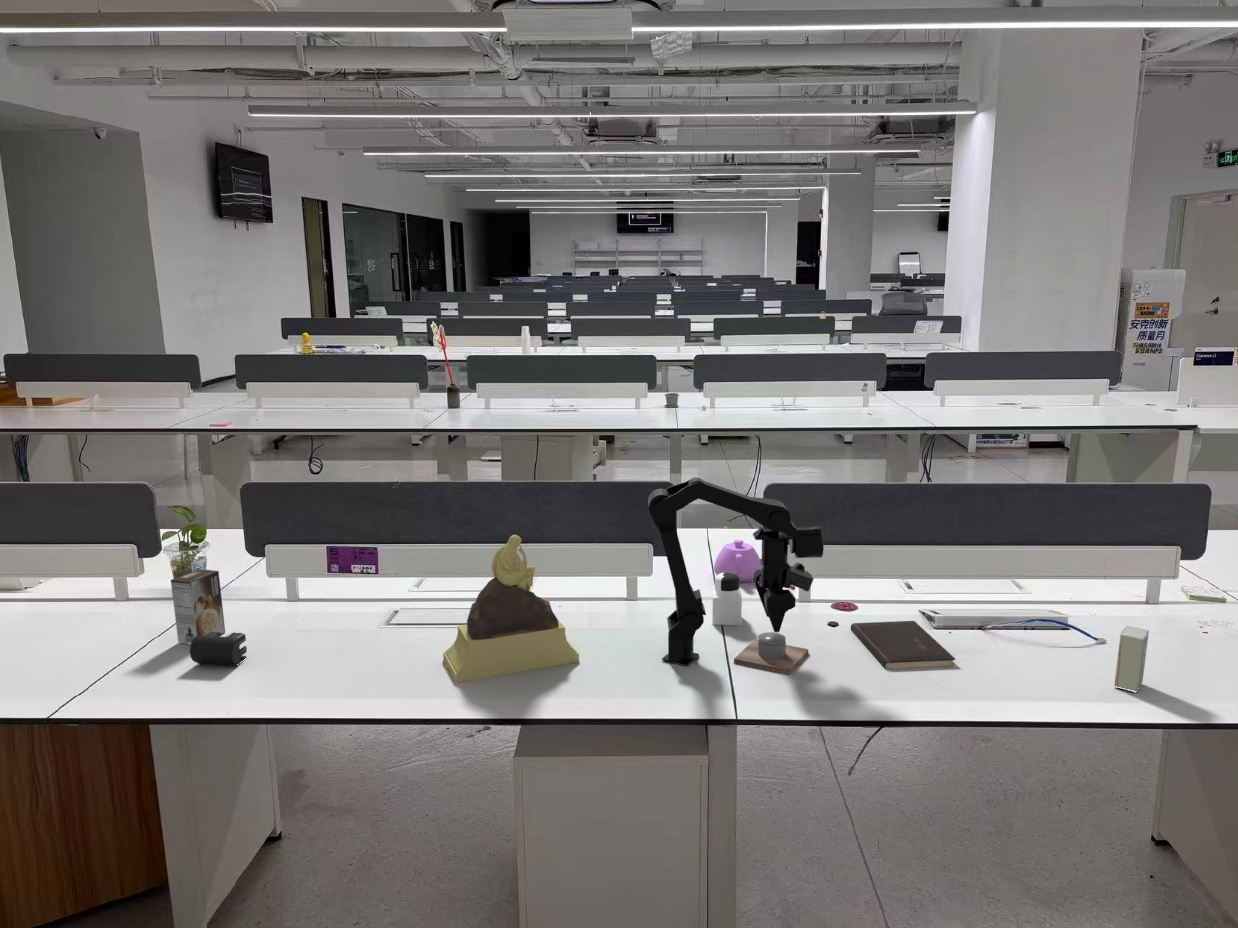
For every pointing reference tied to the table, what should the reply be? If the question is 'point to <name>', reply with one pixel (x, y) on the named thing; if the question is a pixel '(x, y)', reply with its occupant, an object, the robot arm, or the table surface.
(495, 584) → the seated figure statue
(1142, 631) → the skincare box
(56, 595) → the table surface
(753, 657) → the stud plate
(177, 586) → the coffee box
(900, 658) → the hardcover book
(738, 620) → the medicine bottle
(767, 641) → the grey short cylinder
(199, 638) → the end cap
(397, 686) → the table surface
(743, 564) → the teapot
